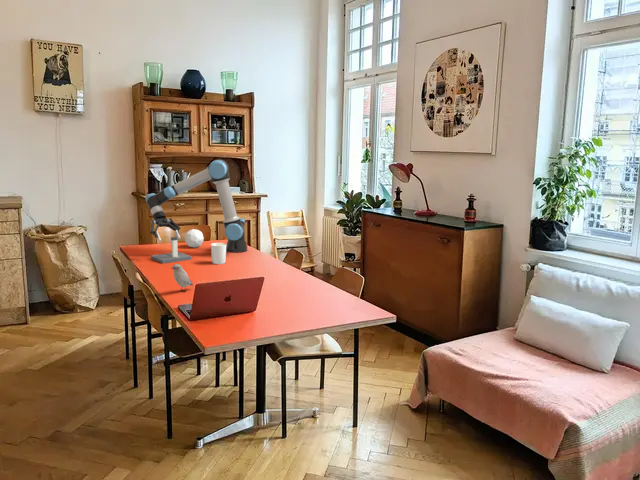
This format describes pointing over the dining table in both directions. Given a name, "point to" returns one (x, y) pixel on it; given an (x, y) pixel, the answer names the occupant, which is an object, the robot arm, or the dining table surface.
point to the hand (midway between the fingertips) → (169, 240)
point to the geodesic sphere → (194, 238)
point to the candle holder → (218, 253)
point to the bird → (181, 276)
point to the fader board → (170, 257)
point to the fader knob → (174, 246)
